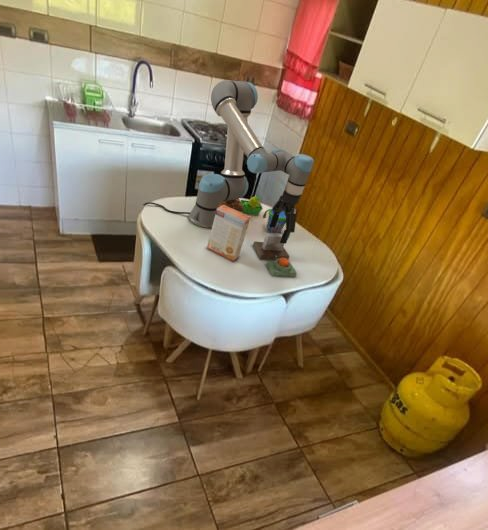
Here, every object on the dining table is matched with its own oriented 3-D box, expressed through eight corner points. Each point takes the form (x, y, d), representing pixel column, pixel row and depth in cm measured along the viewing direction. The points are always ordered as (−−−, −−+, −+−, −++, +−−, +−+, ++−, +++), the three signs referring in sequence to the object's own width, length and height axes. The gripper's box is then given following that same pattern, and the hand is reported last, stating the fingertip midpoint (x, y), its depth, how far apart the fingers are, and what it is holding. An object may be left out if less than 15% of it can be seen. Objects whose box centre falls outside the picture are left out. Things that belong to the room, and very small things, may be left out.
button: (280, 267, 163) (281, 263, 162) (276, 261, 166) (278, 257, 165) (289, 267, 164) (291, 263, 163) (285, 261, 167) (287, 257, 166)
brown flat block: (260, 260, 171) (262, 256, 169) (251, 244, 181) (253, 239, 180) (288, 262, 174) (290, 257, 173) (278, 245, 185) (280, 241, 183)
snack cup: (255, 224, 198) (261, 207, 192) (268, 221, 204) (274, 204, 199) (278, 240, 189) (285, 222, 184) (291, 235, 196) (297, 218, 190)
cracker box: (239, 256, 170) (251, 216, 158) (232, 262, 166) (245, 221, 154) (213, 243, 176) (223, 203, 163) (206, 248, 171) (216, 207, 159)
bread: (209, 201, 210) (213, 185, 205) (226, 201, 214) (231, 185, 209) (222, 218, 197) (227, 201, 191) (240, 218, 201) (245, 201, 195)
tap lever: (263, 250, 174) (269, 235, 170) (261, 246, 176) (266, 232, 172) (281, 250, 176) (287, 237, 172) (279, 247, 179) (284, 233, 174)
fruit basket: (257, 210, 213) (263, 192, 206) (260, 218, 206) (267, 199, 199) (238, 207, 211) (243, 189, 204) (240, 215, 204) (246, 196, 197)
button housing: (272, 276, 163) (275, 268, 160) (266, 264, 169) (268, 257, 167) (295, 276, 165) (298, 269, 163) (288, 265, 172) (291, 258, 169)
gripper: (313, 206, 151) (295, 250, 163) (289, 180, 170) (275, 221, 182) (296, 205, 149) (279, 249, 161) (274, 179, 168) (260, 220, 180)
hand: (277, 234), depth 172 cm, fingers open, 13 cm apart
